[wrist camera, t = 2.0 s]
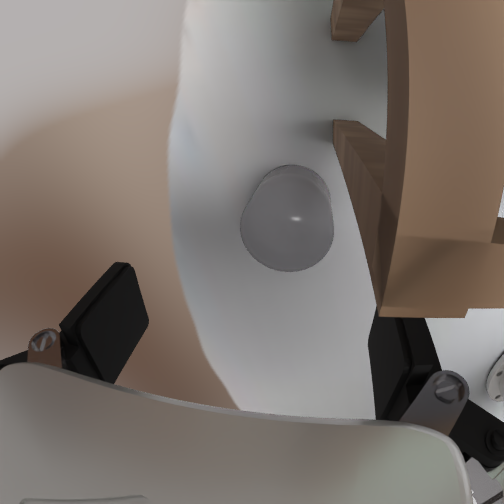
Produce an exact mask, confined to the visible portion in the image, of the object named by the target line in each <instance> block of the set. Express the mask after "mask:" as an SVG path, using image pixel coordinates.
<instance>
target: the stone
mask: <svg viewBox="0 0 504 504" xmlns="http://www.w3.org/2000/svg"><path fill="white" fill-rule="evenodd" d="M240 230H241V236H242V240H243V242H244V245H245V247H246V248H247V250H248V251H249V253H250V254H251V255H252V256H253V257H254V258H255V259H256V260H257V261H258V262H260V263H261V264H263V265H265V266H267V267H269V268H271V269H274V270H278V271H285V272H294V271H300V270H304V269H307V268H309V267H311V266H313V265H315V264H316V263H318V262H319V261H320V260H321V259H322V258H323V257H324V256H325V255H326V254H327V252H328V250H329V249H330V246H331V244H332V241H333V235H334V226H333V216H332V207H331V198H330V193H329V190H328V187H327V185H326V184H325V182H324V181H323V179H322V178H321V177H320V176H319V175H318V174H317V173H315V172H314V171H312V170H310V169H308V168H306V167H302V166H297V165H287V166H282V167H279V168H277V169H274V170H273V171H271V172H270V173H269V174H267V175H266V176H265V177H264V179H263V180H262V181H261V183H260V185H259V186H258V188H257V189H256V191H255V193H254V194H253V196H252V198H251V199H250V201H249V203H248V204H247V206H246V208H245V210H244V212H243V214H242V218H241V223H240Z"/></svg>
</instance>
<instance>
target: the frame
mask: <svg viewBox="0 0 504 504" xmlns="http://www.w3.org/2000/svg"><path fill="white" fill-rule="evenodd" d="M383 9H384V13H385V25H386V41H387V70H388V105H387V134H386V140H385V139H384V138H382V137H381V136H379V135H378V134H376V133H375V132H373V131H372V130H370V129H369V128H367V127H366V126H364V125H363V124H361V123H360V122H358V121H347V120H333V145H334V148H335V151H336V154H337V157H338V160H339V163H340V166H341V169H342V172H343V175H344V179H345V182H346V185H347V188H348V192H349V195H350V198H351V202H352V205H353V209H354V212H355V216H356V220H357V223H358V227H359V231H360V235H361V239H362V242H363V246H364V250H365V255H366V259H367V263H368V267H369V272H370V276H371V281H372V285H373V290H374V295H375V299H376V304H377V310H378V315H379V317H412V318H465V315H466V313H467V311H468V308H504V218H501V217H497V216H498V212H499V207H500V203H501V198H502V193H503V187H504V0H334V1H333V7H332V13H331V18H330V19H331V36H332V40H337V41H351V42H357V41H358V40H359V39H360V37H361V36H362V35H363V34H364V32H365V31H366V30H367V29H368V27H369V26H370V25H371V24H372V22H373V21H374V20H375V19H376V17H377V16H378V15H379V14H380V13H381V11H382V10H383Z"/></svg>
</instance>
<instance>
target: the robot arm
mask: <svg viewBox="0 0 504 504" xmlns="http://www.w3.org/2000/svg"><path fill="white" fill-rule="evenodd" d="M148 324H149V319H148V315H147V312H146V309H145V305H144V302H143V299H142V295H141V292H140V288H139V285H138V281H137V277H136V274H135V270H134V268H133V267H131V265H130V264H129V263H123V262H115V263H114V264H113V265H112V266H111V267H110V268H109V269H108V270H107V271H106V272H105V273H104V274H103V276H102V277H101V278H100V279H99V280H98V281H97V282H96V283H95V284H94V285H93V286H92V288H91V289H90V290H89V291H88V292H87V293H86V294H85V295H84V296H83V297H82V299H81V300H80V301H79V302H78V303H77V304H76V306H75V307H74V308H73V309H72V310H71V311H70V312H69V314H68V315H67V316H66V317H65V318H64V319H63V321H62V322H61V323H60V324H59V326H60V328H61V332H60V333H59V332H58V331H57V330H56V329H53V328H47V329H43V330H41V331H39V332H37V333H36V334H34V335H33V336H32V338H31V339H30V341H29V344H28V350H27V351H24V352H21V353H19V354H16V355H13V356H11V357H8V358H5V359H3V360H0V504H473V498H472V495H473V497H474V498H475V500H476V502H477V504H504V422H502V421H501V420H499V419H498V418H496V417H495V416H493V415H492V414H490V413H489V412H487V411H486V410H484V409H482V408H481V407H479V406H478V405H476V404H475V403H473V402H472V401H470V400H469V399H468V397H469V387H468V384H467V382H466V381H465V380H464V378H463V377H462V376H460V375H459V374H458V373H455V372H453V371H448V370H443V371H442V369H441V366H440V362H439V359H438V356H437V353H436V350H435V347H434V344H433V341H432V338H431V335H430V332H429V329H428V326H427V323H426V320H425V318H412V317H379V315H378V310H377V307H376V311H375V315H374V319H373V323H372V327H371V330H370V334H369V339H368V349H369V357H370V365H371V373H372V382H373V392H374V403H375V415H376V420H368V419H335V418H316V417H300V416H286V415H275V414H265V413H256V412H248V411H241V410H233V409H227V408H220V407H214V406H208V405H202V404H197V403H191V402H186V401H181V400H176V399H171V398H167V397H162V396H158V395H154V394H149V393H145V392H141V391H137V390H133V389H129V388H126V387H122V386H118V385H114V383H115V381H116V379H117V378H118V376H119V374H120V372H121V371H122V369H123V367H124V366H125V364H126V362H127V360H128V359H129V357H130V355H131V354H132V352H133V350H134V348H135V347H136V345H137V344H138V342H139V340H140V339H141V337H142V335H143V334H144V332H145V330H146V328H147V327H148ZM486 388H487V392H488V395H489V396H490V398H491V399H492V400H495V401H503V402H504V354H503V355H502V356H501V358H500V359H499V360H498V361H497V362H496V364H495V365H494V367H493V369H492V370H491V372H490V374H489V376H488V379H487V383H486ZM471 489H472V490H473V491H474V493H473V494H472V490H471Z"/></svg>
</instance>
